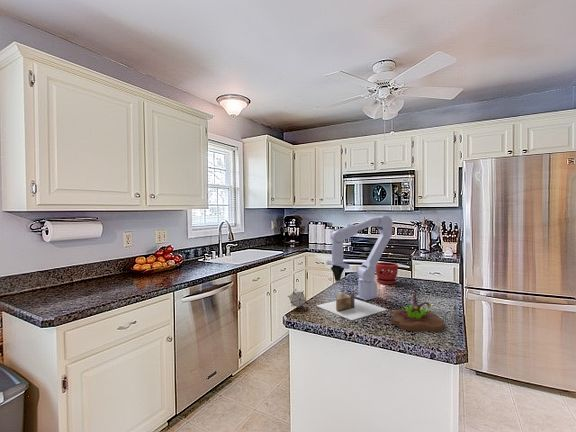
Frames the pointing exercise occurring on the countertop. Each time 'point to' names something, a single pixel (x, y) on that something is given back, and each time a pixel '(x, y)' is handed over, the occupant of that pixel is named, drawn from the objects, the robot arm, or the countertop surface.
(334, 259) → the robot arm
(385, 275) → the plant pot
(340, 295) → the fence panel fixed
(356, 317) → the card
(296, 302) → the game die
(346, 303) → the brown wooden board
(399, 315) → the plant
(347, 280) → the countertop surface
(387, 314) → the countertop surface
